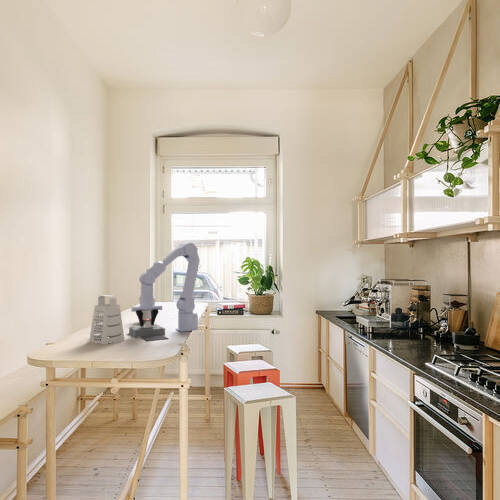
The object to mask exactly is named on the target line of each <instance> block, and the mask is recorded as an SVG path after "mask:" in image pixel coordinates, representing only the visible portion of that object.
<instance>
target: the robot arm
mask: <svg viewBox="0 0 500 500" xmlns="http://www.w3.org/2000/svg"><path fill="white" fill-rule="evenodd" d="M198 249H199V248H198V247H197V246H196V245H195V243H193V242H186V243H185V242H182V243H180V244H179V245H178V246H176V247H175V248H174V249H173V250H172V251H170V252H169V253H168V255H167V256H166V257H164V258H163V259H162V260H161V261H157V262H156V261H155V262H154V263H153V265H152V266H151V267H149V268H148V269H146V270H145V271H146V272H143V273H141V275H140V277H139V278H138V279H139V282H140V283H141V284H140V295H141V306H140V305H139V306H133V307H132V306H131V308H130V311H131V312H133V313H134V312H135V314H136V317H137V319H138V322H139V326H141V327H142V326H143V312H142V311H149V310H151V319H152V326H154V325H155V321H156V319H157V316H158V314H159V311H163V305H155V306H153V295H154V283H155V282H156V279H158V277H160V276H161V275H162V274H163V273H164V272H165V271H166V269H167V266H168V265H170V264H171V263H172V262H174V261H175V260H176V259H177V258H178V257H183V258H185V260H186V261H187V263H188V264H187V268H186V274H185V279H184V284H183V290H182V292H181V294H179V298H178V300H177V301H176V308H177V310H178V311H177V312H178V313H177V315H178V316H177V317H178V318H177V320H178V321H177V323H178V324H177V325H178V326H177V328H176V327H175V331H176V330H177V331H179V332H190V331H199V328H198V327H199V319H198V318H199V317H198V312H196V311H194V310H195V308H196V303H195V299H196V298H195V296H194V291H195V286H196V281H197V275H198V270H199V265H200V257H199V253H198ZM144 309H146V310H144Z"/></svg>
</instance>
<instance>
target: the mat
mask: <svg viewBox="0 0 500 500" xmlns="http://www.w3.org/2000/svg"><path fill="white" fill-rule="evenodd" d="M140 338H141V339H143V340H144V341H146V342H154V341H163V340H169V338H168V337H167V336H165V335H154V336H143V337H140Z"/></svg>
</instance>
